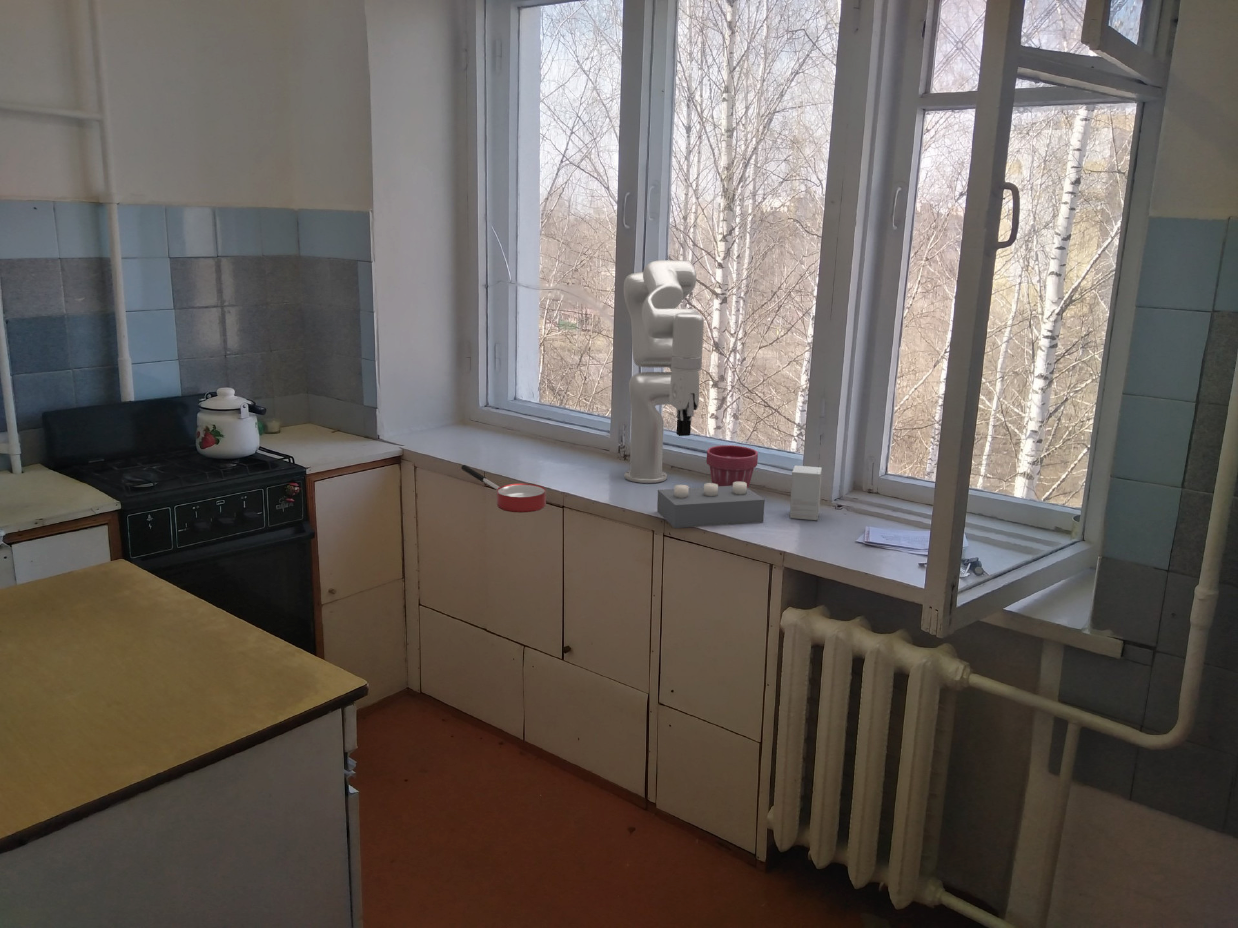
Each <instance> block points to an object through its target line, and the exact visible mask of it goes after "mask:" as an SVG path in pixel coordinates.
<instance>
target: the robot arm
mask: <svg viewBox="0 0 1238 928" xmlns="http://www.w3.org/2000/svg"><path fill="white" fill-rule="evenodd" d="M696 284H697V271H696V268H695V267H694V265H693V264H692V263H691V262H690V261H687V260H673V259H672V260H671V259H670V260H669V259H668V260H667V259H666V260H664V259H663V260H660V259H658V260H653V261H650V262H649V263H647V265H645V267H644V268H643V271H638V272H634V273H630V274H629V275H627V276H626V277H625V279H624V281H623V298H624V302H625V305H626V308H627V311H628V314H629V317H630V322H631V346H632V347H631V349H632V358H633V362H634V364H635V365H636V366H638V367H640V368H648V369H649V368H655V369H656V368H668V369H669V370H670V371H642V372H638V373H635V374H634V375H632V376H631V377H630V379H629V382H628V393H629V400H630V415H631V416H630V457H629V458H630V461H629V470H627V471H626V472H624V478H625V480H627V481H630V482H632V483H639V484H641V483H642V484H654V483H660V482H664V481H666V480H667V479H668V474H667V473H666V472H665V471H663V456H664V455H663V453H664V452H663V451H664V427H665V425H664V418H663V416H662V414H661V412H660V411H658V409H657V408H656V406H663V405H668V406H669V405H670V406H672V407H673V408H675V409H676V430H675V431H676V435H677V436H678V437H689V436H691V430H692V429H691V427H692V418H693V417H694V416H695V414H694V413H695V411H697V410H698V408H699V405H700V403H699V402H700V372H701V370H702V363H703V347H704V345H703V343H704V325H705V321H704V320H705V319H704V317H703V315H702V314H701V313H699V311H698V310H696V309H694V308H678V307H679V306H680V304H681V303H682V302H683V300H685V299H686V297H688V295H690V294H691V293H692V292H693V290H694V289H695V287H696Z"/></svg>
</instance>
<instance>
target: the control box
mask: <svg viewBox="0 0 1238 928" xmlns="http://www.w3.org/2000/svg"><path fill="white" fill-rule="evenodd" d="M732 491H733V486H718V495H717V496H706V495H704V486H702V487H701V486H700V487H689V491H688V497H686V498H677V497H675V496H674V488H670V489H668V488H667V489H658V490H657V504H656V505H657V506H656V507H657V509H656V513H658V514H659V515H660V516H661V517H662V518H663V519H664V520H665V521H666V522H667V523H668V524H670V525H671V527H672V528H673V529H680V528H681V529H682V528H683V529H684V528H695V527H696V528H697V527H710V526H711V527H713V526H727V525H728V526H729V525H739V524H741V525H743V524H755V523H757V524H758V523H764V518H765V517H764V515H765V499H764V498H763V497H761V495H758V494H757V493H756V492H754V491H752V490H751V489H750V488H747V491H746V494H742V495H740V494H734V493H733V492H732Z"/></svg>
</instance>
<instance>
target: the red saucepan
mask: <svg viewBox="0 0 1238 928" xmlns="http://www.w3.org/2000/svg"><path fill="white" fill-rule="evenodd" d="M461 470H462V471H464V473H467V474H468V475H470V476H472V477H473V478H476V479H477V480H479V481H480V482H481V483H485V484H486V485H489V486H490V487H492V488H493V489H495V490H496V506H497V508H499V510H502V511H505V512H510V513H532V512H537V511H540V510H542V509H544V508H545V507H546V505H547V489H546V488H545V487H544V486H541V485H538V484H533V483H511V484H510V483H509V484H505V485H502V486H499V485H497V484H496V483H494V482H493V481H491V480H489V479H487V477H486V476H484V475H482V474H481V473H479V472H477V471H476V470H474V469H473V468H471V467H470V466H468V465H466V464H462V465H461Z"/></svg>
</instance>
